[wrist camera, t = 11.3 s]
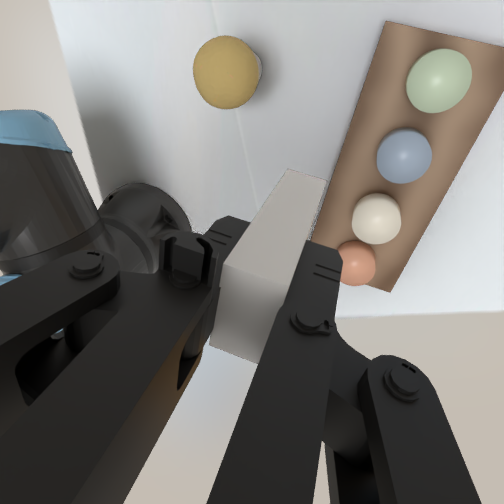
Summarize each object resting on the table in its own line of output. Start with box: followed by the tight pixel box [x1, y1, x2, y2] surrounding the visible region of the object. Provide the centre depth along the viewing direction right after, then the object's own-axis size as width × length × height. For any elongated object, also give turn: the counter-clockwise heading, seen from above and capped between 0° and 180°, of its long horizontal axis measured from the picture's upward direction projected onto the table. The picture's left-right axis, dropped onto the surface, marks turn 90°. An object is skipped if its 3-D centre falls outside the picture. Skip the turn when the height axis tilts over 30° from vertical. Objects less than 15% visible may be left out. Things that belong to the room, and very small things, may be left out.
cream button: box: [352, 193, 401, 244], centre depth 38 cm, size 5×5×3 cm
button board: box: [310, 21, 504, 292], centre depth 40 cm, size 12×28×3 cm, turn 169°
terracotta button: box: [337, 241, 376, 286], centre depth 43 cm, size 5×5×3 cm
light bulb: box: [193, 36, 262, 109], centre depth 36 cm, size 6×6×10 cm
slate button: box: [377, 127, 432, 184], centre depth 35 cm, size 5×5×3 cm
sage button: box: [405, 48, 472, 113], centre depth 31 cm, size 5×5×3 cm
